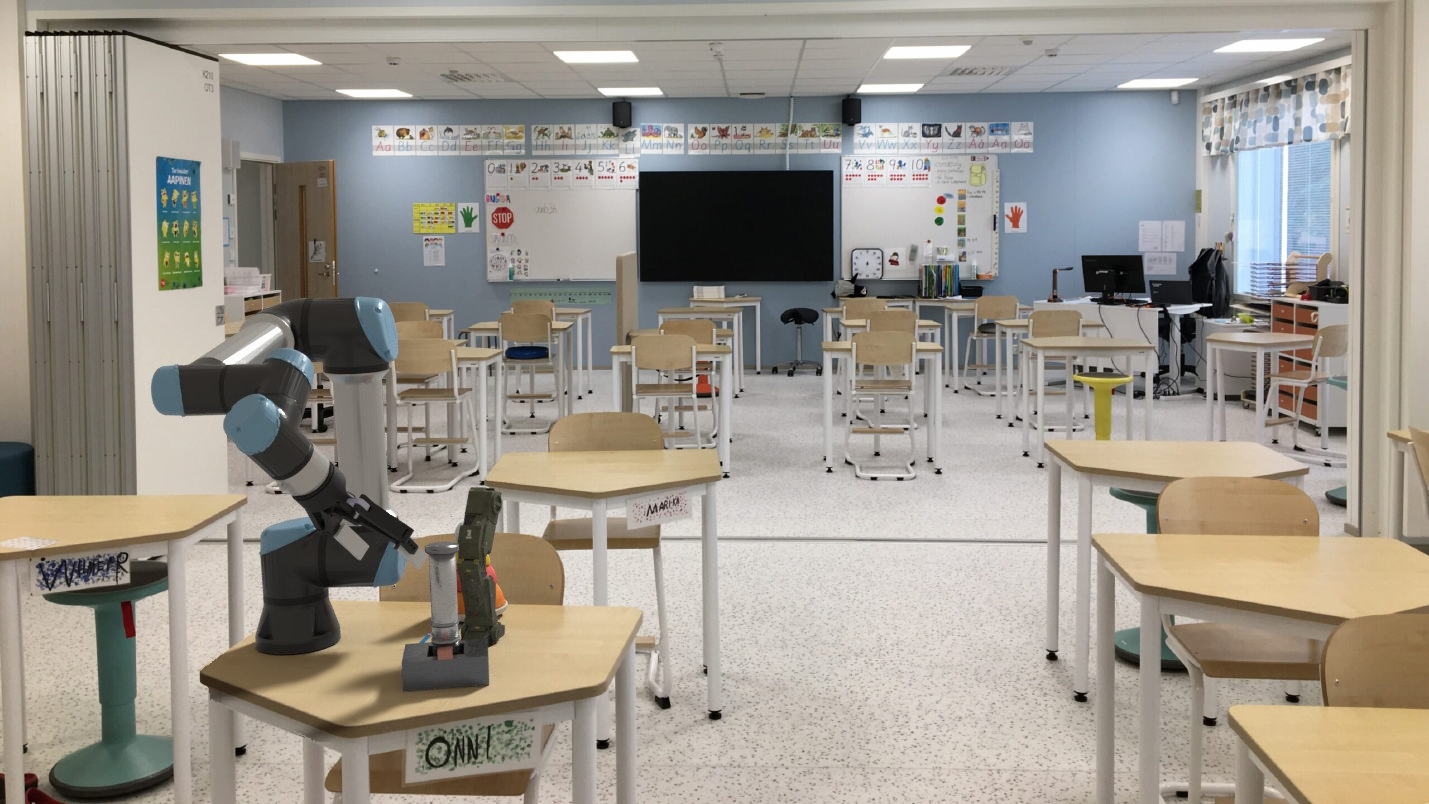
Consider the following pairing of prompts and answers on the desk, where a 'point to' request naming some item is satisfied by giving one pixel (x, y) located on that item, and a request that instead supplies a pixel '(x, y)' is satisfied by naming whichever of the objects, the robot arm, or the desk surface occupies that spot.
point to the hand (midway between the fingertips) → (392, 557)
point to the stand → (445, 666)
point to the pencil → (426, 637)
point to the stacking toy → (500, 601)
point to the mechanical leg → (479, 565)
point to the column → (443, 595)
